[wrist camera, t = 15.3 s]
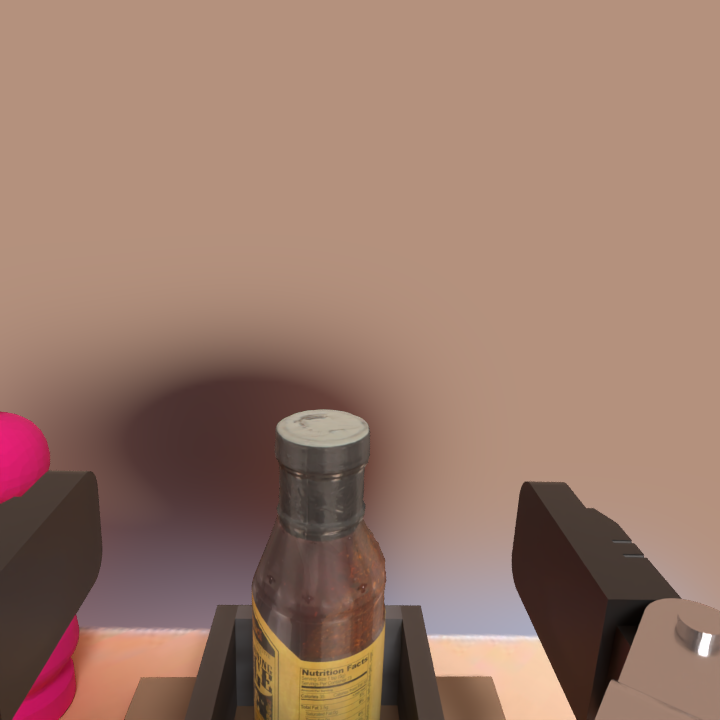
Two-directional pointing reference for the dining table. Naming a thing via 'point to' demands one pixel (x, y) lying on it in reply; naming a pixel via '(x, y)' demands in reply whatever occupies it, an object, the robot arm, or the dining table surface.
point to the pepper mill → (57, 679)
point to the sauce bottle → (319, 579)
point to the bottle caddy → (235, 674)
